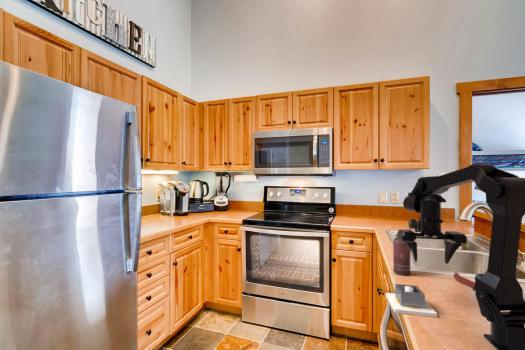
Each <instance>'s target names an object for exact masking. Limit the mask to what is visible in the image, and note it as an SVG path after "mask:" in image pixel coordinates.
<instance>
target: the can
mask: <svg viewBox="0 0 525 350" xmlns="http://www.w3.org/2000/svg"><path fill="white" fill-rule="evenodd" d="M392 243H393V244H392V246H393V249H392V250H393V251H392V252H393V253H392V255H393V256H392V257H393V262H392V263H393V272H394V273H395V274H396V275H398V276H403V277H404V276H409V275H410V274H411V251H410V248H409V246H408V244H407V243H405V242H404V241H402V240H401V239H400V238H398V237H396V238H395V237H394V238H393V242H392Z"/></svg>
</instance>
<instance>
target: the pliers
mask: <svg viewBox="0 0 525 350" xmlns="http://www.w3.org/2000/svg"><path fill="white" fill-rule="evenodd" d="M453 278H454V279H455V281H457V282H459V283H460V284H462V285H465V286H467V287H469V288H471V289H472V291H473V292H474V291H476V289H473V288H474V286H475V281H473V280H471V279H468V278H466V277H464V276H462V275H460V274H459V272H454V273H453Z"/></svg>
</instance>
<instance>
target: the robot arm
mask: <svg viewBox="0 0 525 350" xmlns="http://www.w3.org/2000/svg"><path fill="white" fill-rule="evenodd" d="M471 183H475V187H476V188H477V189H479V190H480V191H482V192H483V193H484V194H485V201H486V202H485V203H486V204H487V206H488V207H489V209H490V211H491V213H492V219H491V220H492V221H491V231H490V239H489V240H490V242H489V253H488V261H487V269H486V271H485V272H484V273H476V274H475V276H474V282H475V286H474V288H473V289H476V291H475V292H474V293H475V298H476V300H477V304H478V307H479V311H480V315H481V316H482V317H484V318H486V321H487V322H490V334H489V333H488V334H487V333H484V334H483V337H484V338H485V339H486V340H487V341H488V342H489V343H490V344H491V345H492V346H493V347H494V348H495V349H496V350H525V299H524V293H523V291H524V290H523V288H522V286H521V284H520V282H519V281H518V279H517V277H516V276H517V275H516V274H517V264H518V255H519V248H520V239H521V231H522V221H523V217H524V216H525V177H520V176H519V175H516V174H514V173H511V172H508V171H505V170H502V169H499V168H498V167H496V166H495V165H492V164H490V163H473V164H470V165H469V166H467V167H463V168H460V169H457V170H453V171H451V172H447V173H444V174H441V175H436V176H435V175H433V176H422V177H418V179H417V181H416V183H415V185H414V187H413V189H412V190H411V191H410V192H407V193H408V195H407V196H405V197H404V199H403V201H402V205H403V208H404V209H405V210H406V211H409V212H414V213H419V214H420V216H418V221H417V220H416V219H415V218H413V219H411V218H409V219H408V228H409V229H403V228H402V229H398V231H397V238H400V239H401V240H402V241H404V242H405V243H407V244H408V246H409V248H410V254H411V255H412V259H413V261H414V262H415V263H416V262H418V243H417V241H416V240H417V239H421V240H422V239H424V240H425V239H426V240H443V242H444V263H445V264H449V263H450V261H451V259H452V258H453V257H454V254H455V252H456V251H457V250H458V249H459V248H460V247H463V245H465V244H466V245H467V244H468V237H467V235H466V234H465V233H462V232H459V231H453V230H450V231H449V230H448V231H447V230H446V231H445V232H444V233H443V232H442V224H443V223H444V220H443V219H442V203H447V199H445V198H444V197H443V196H442V195H441V194H444V193H446V192H448V191H449V189H451V188H454V187H457V186H462V185H466V184H471ZM413 230H414V231H413Z"/></svg>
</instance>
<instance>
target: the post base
mask: <svg viewBox="0 0 525 350" xmlns="http://www.w3.org/2000/svg"><path fill="white" fill-rule="evenodd" d="M405 292H414V288H413V287H410V286H405ZM385 297H386V299H387V301H388V302H389V305H390V306H391V308H392V310H393V312H394V313H395V314H403V315H414V316H423V317H432V318H438V313H437V311H436V310H435V309H434V308H433V307H432V305H430V304H429V302H428V301H427V300H426V299H425V308H417V307H407V306H401V305H400V303H399V302H398V300H397V298H396V297H395V293H390V292H385Z"/></svg>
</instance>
